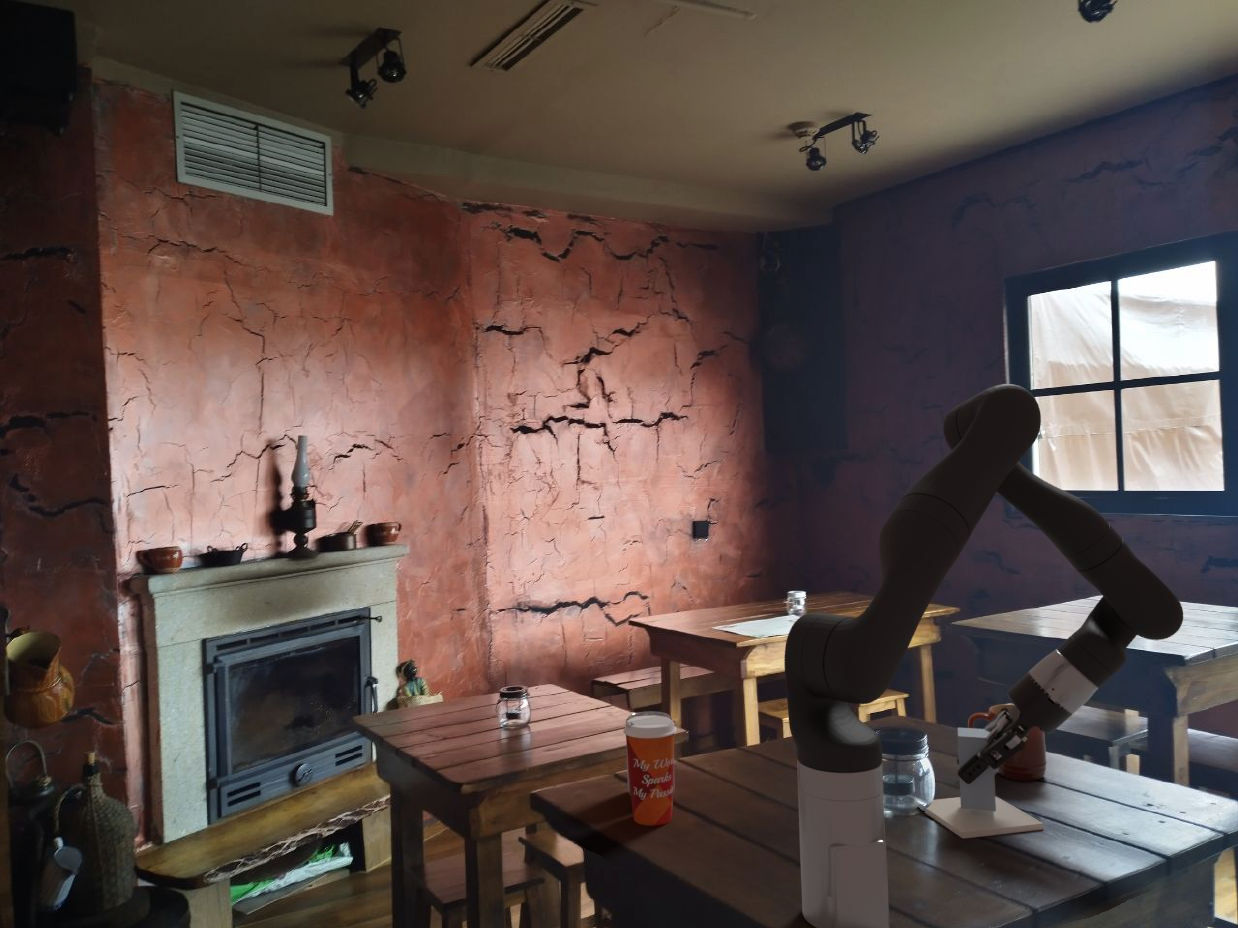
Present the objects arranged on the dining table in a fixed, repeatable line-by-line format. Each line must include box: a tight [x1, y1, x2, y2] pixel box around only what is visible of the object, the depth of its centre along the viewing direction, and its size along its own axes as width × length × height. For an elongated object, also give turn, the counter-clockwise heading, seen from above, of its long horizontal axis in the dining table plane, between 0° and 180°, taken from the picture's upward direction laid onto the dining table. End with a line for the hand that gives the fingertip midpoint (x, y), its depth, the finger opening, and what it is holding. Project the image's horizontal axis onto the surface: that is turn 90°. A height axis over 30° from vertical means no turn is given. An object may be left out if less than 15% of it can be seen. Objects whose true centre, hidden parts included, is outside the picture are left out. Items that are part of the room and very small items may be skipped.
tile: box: [924, 795, 1045, 840], centre depth 129 cm, size 12×12×1 cm
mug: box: [967, 703, 1047, 782], centre depth 147 cm, size 12×9×10 cm
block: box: [957, 727, 996, 811], centre depth 129 cm, size 4×4×10 cm
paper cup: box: [623, 716, 678, 827], centre depth 133 cm, size 8×8×14 cm
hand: (962, 772), depth 130 cm, fingers closed on block, 4 cm apart
